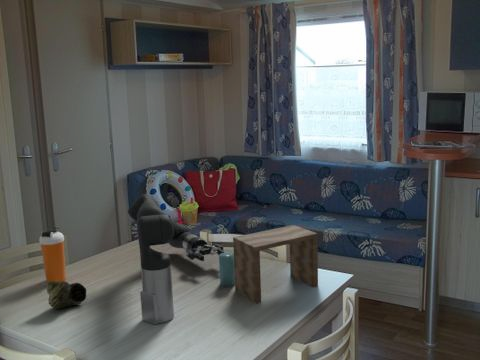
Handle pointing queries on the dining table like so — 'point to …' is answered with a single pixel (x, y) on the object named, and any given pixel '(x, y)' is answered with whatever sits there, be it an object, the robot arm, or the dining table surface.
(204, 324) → the dining table surface
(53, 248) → the shaker bottle
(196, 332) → the dining table surface
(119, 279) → the dining table surface
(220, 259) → the teal upright cylinder
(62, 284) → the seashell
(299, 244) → the wooden bench stool
